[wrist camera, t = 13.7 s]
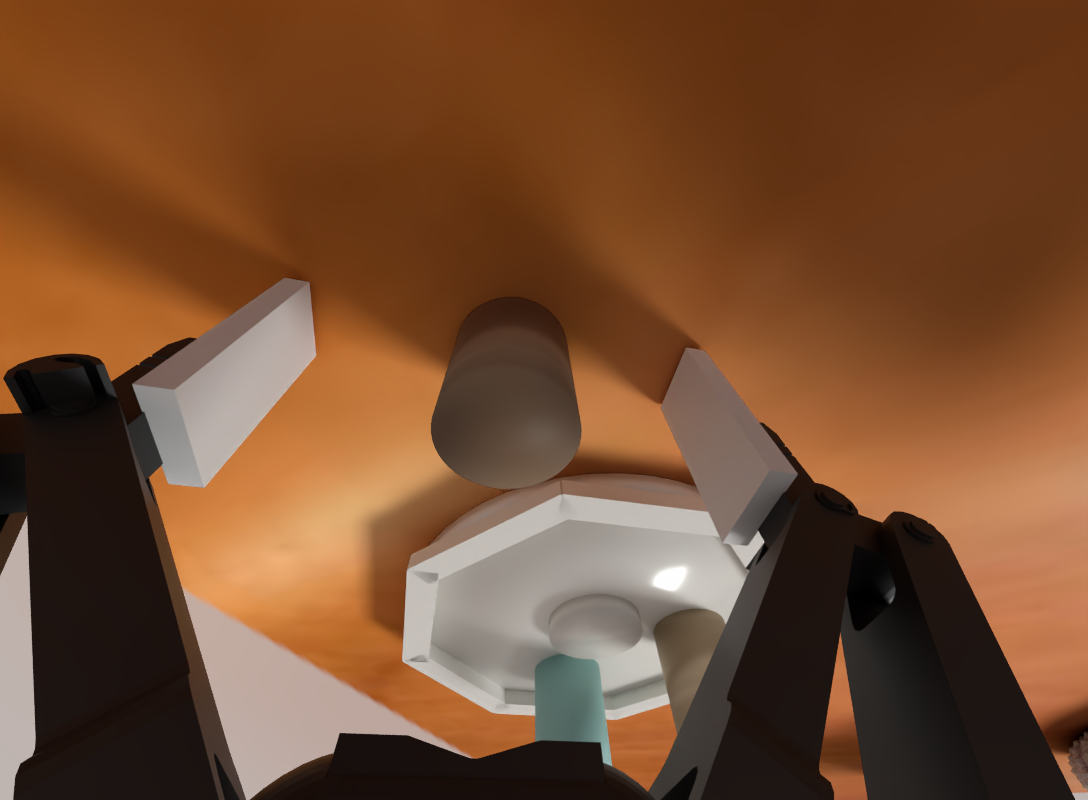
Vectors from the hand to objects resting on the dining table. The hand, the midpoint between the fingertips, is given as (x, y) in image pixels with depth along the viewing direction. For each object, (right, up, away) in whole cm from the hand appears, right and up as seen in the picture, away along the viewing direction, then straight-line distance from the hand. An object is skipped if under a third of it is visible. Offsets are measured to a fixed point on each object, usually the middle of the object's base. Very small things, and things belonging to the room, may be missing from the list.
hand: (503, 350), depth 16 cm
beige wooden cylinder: (+10, -15, +9) cm, 20 cm away
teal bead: (+3, -18, +11) cm, 22 cm away
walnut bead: (0, 0, 0) cm, 0 cm away
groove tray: (+4, -13, +9) cm, 17 cm away
